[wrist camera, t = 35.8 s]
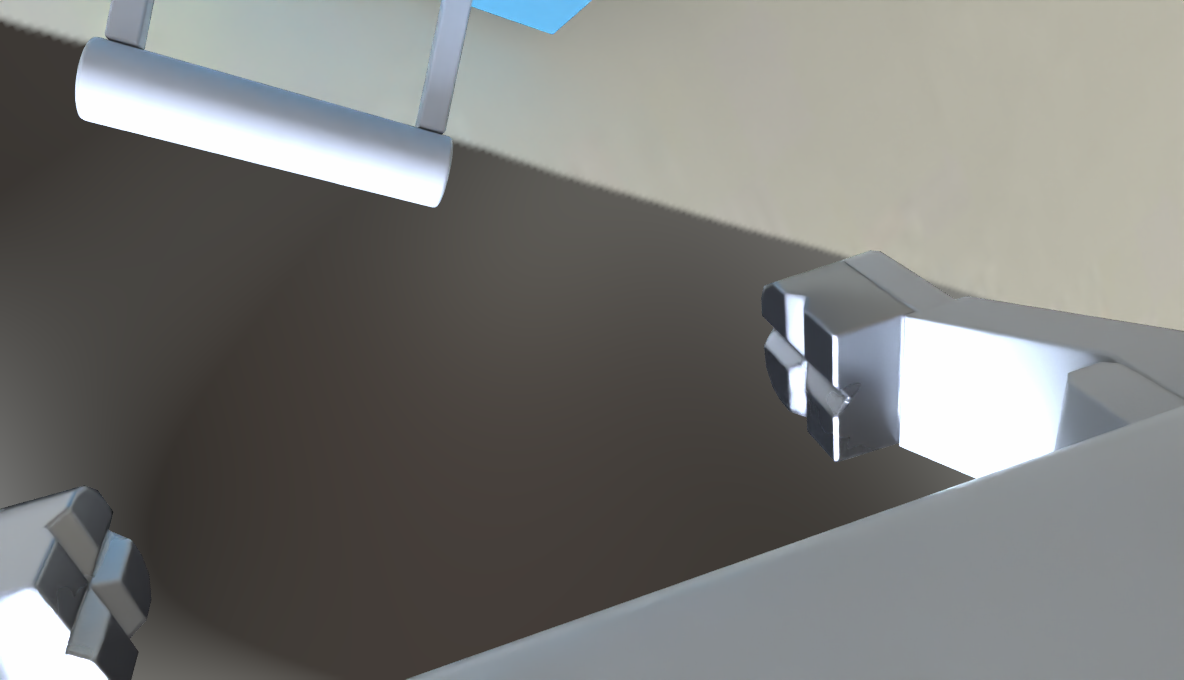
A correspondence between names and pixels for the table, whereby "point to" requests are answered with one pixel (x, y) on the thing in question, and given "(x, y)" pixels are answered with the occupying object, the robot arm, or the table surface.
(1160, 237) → the table surface
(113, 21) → the blue drawer
